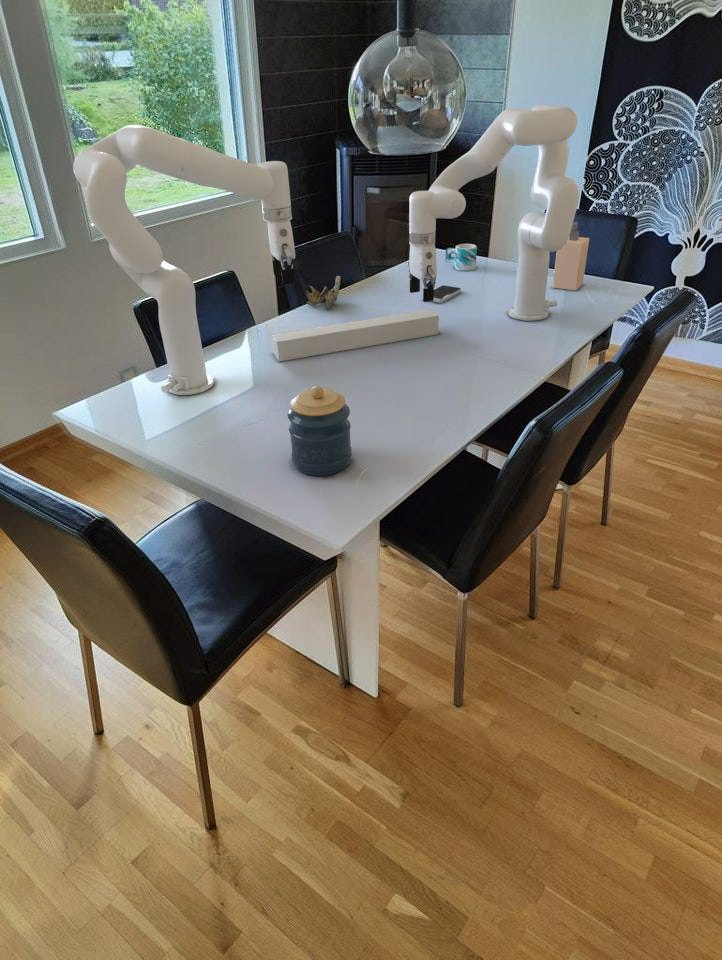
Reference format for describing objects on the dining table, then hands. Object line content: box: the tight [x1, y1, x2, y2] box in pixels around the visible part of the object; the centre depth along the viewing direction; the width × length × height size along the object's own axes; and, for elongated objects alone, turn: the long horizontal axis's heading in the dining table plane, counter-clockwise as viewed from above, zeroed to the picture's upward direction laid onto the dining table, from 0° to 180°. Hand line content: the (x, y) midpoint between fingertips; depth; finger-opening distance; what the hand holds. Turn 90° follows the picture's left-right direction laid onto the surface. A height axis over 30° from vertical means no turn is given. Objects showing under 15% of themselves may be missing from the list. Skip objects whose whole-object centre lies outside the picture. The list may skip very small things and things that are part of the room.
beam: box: [271, 309, 440, 362], centre depth 201 cm, size 51×6×6 cm, turn 110°
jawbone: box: [305, 275, 341, 310], centre depth 232 cm, size 9×15×10 cm
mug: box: [445, 243, 478, 272], centre depth 265 cm, size 8×12×8 cm
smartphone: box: [431, 285, 462, 304], centre depth 237 cm, size 8×1×15 cm
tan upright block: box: [552, 221, 590, 292], centre depth 235 cm, size 13×9×22 cm
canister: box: [287, 385, 353, 476], centre depth 141 cm, size 13×13×18 cm
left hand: (284, 278), depth 185 cm, fingers open, 9 cm apart
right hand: (421, 296), depth 202 cm, fingers open, 9 cm apart
